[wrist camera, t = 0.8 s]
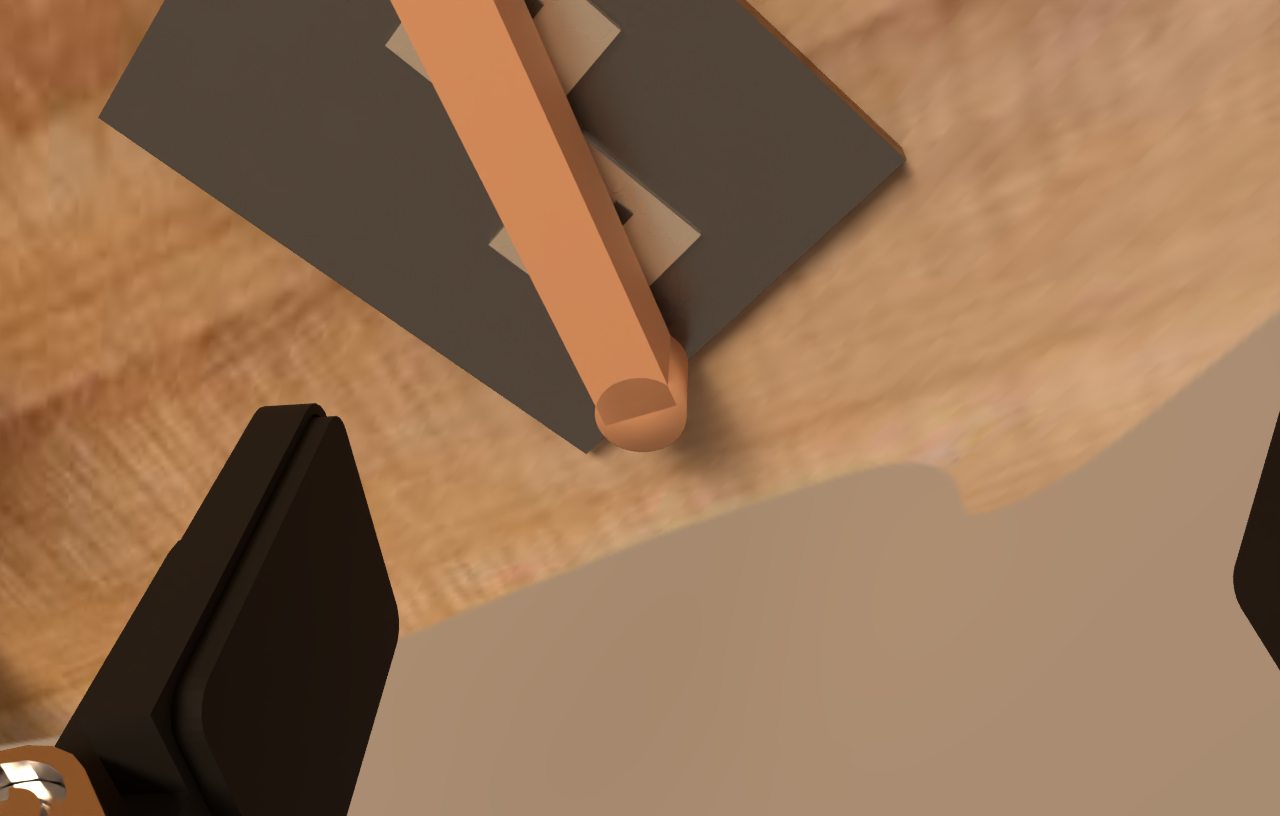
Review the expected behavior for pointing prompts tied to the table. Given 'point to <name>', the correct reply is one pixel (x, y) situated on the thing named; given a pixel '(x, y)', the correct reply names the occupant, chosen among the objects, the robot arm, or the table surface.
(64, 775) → the robot arm
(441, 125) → the panel
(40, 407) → the table surface
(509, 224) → the swing bar
